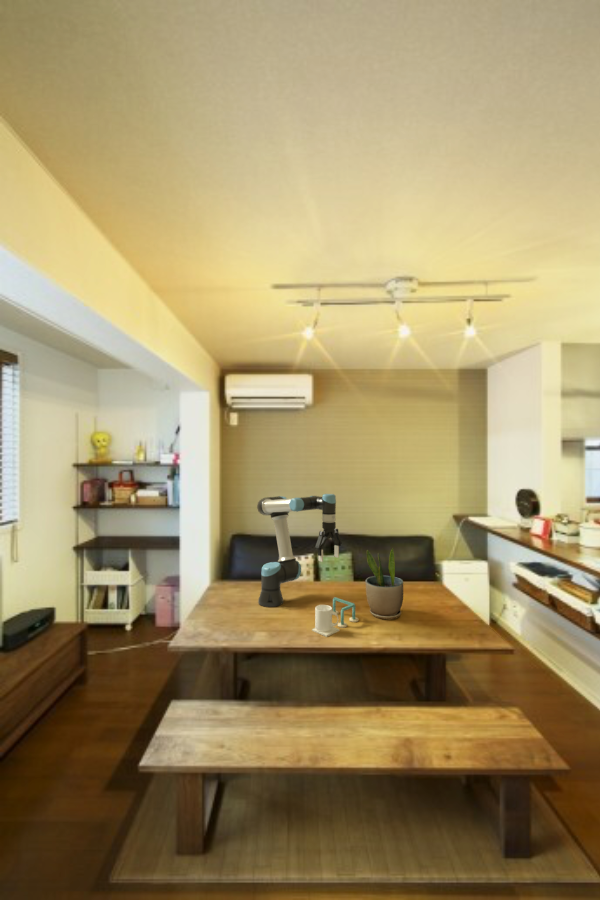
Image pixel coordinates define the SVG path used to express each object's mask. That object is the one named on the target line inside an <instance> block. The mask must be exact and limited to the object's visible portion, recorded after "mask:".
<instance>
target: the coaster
mask: <svg viewBox="0 0 600 900" xmlns="http://www.w3.org/2000/svg"><path fill="white" fill-rule="evenodd" d="M311 632H314V633H316V634H319V635H322V636H323V637H325V638H328V637H329V636H332V635H334V634H336V633H338V632H340V628H338V627H336V626H334V627H332V629H331V630H330V631H327V632H321V631H318V630H317V629H316V628H315V627H314V628H312V629H311Z"/></svg>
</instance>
